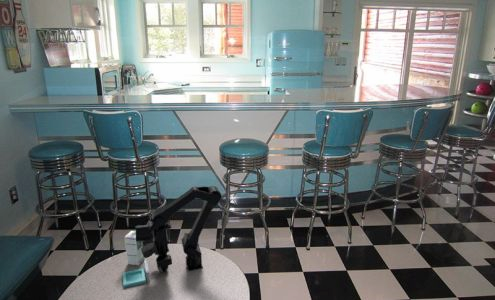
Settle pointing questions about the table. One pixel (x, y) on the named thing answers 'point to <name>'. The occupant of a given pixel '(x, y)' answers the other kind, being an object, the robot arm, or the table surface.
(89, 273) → the table surface
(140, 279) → the coaster
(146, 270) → the gray flat board
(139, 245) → the syrup box
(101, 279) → the table surface
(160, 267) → the ball
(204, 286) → the table surface
